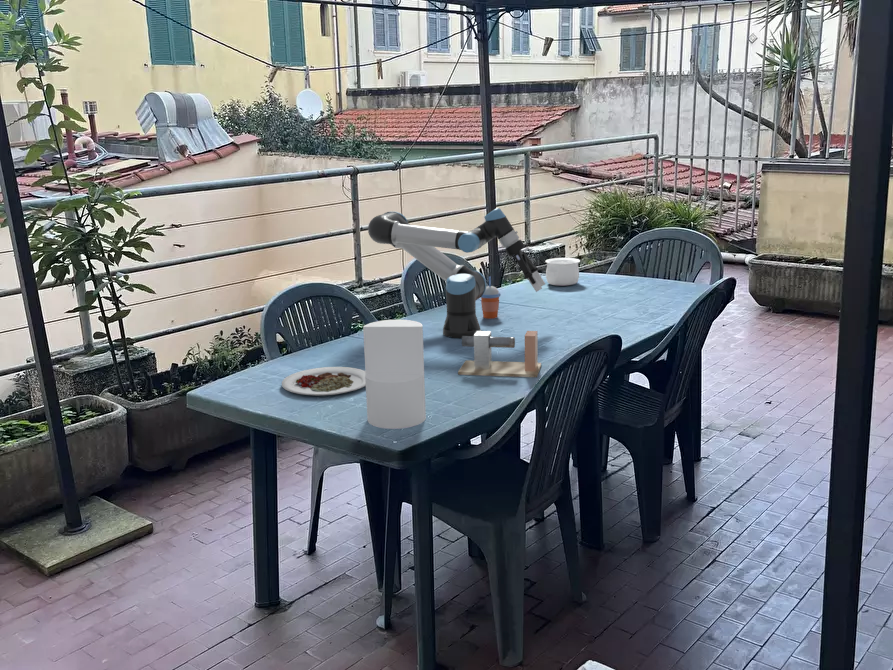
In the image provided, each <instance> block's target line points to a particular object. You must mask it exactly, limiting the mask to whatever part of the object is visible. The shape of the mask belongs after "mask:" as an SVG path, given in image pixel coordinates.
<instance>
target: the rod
mask: <svg viewBox="0 0 893 670" xmlns="http://www.w3.org/2000/svg"><path fill="white" fill-rule="evenodd" d="M461 345H462V347H473V348H474V336H462V338H461ZM489 347H491V348H504V349H505V348H506V349H507V348H509V349H510V348H511V349H515V347H516V338H515V337H514V336H512V337H510V336H507V337H506V336H491V337H489Z"/></svg>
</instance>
